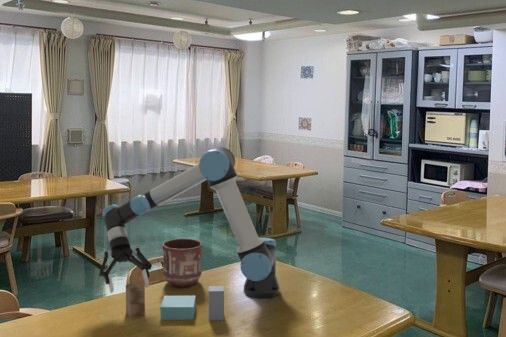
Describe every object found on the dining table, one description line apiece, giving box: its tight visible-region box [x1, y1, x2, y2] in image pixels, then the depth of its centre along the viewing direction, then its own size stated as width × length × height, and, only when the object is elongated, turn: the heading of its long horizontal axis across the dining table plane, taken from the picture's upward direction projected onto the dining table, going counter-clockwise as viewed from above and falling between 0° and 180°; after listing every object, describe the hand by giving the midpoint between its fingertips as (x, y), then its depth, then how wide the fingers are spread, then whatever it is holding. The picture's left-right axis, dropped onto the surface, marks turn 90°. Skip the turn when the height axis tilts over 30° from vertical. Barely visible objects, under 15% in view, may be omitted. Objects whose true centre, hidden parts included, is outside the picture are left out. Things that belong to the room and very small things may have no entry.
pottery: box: [162, 238, 203, 288], centre depth 234 cm, size 18×18×18 cm
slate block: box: [208, 285, 225, 321], centre depth 197 cm, size 6×6×11 cm
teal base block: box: [159, 295, 197, 321], centre depth 201 cm, size 12×12×5 cm
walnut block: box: [125, 282, 146, 319], centre depth 199 cm, size 6×6×11 cm
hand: (130, 288), depth 201 cm, fingers open, 13 cm apart
